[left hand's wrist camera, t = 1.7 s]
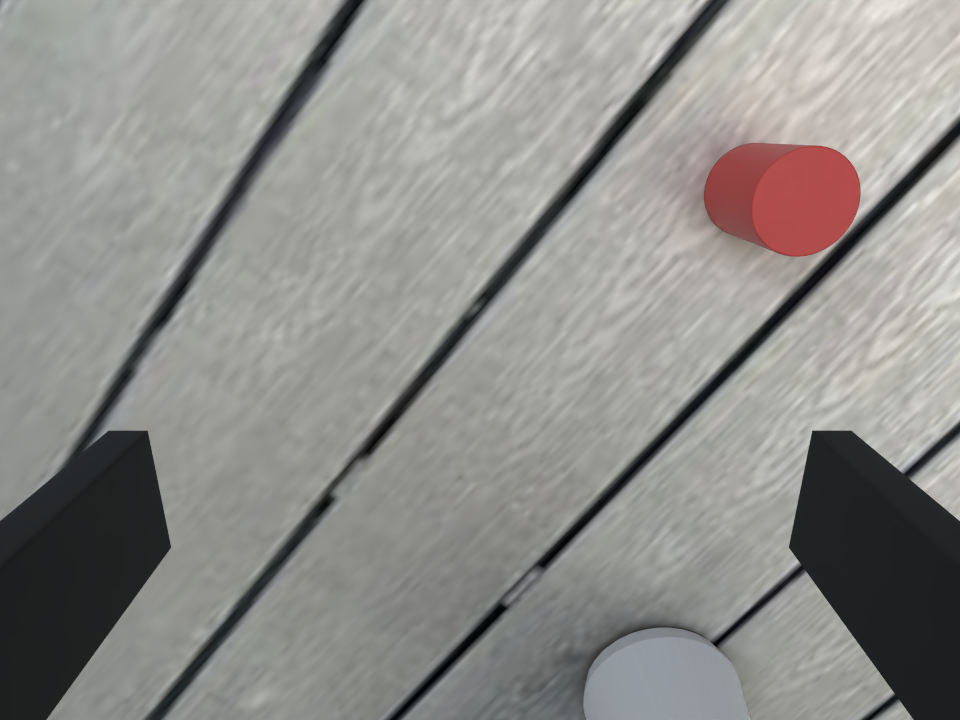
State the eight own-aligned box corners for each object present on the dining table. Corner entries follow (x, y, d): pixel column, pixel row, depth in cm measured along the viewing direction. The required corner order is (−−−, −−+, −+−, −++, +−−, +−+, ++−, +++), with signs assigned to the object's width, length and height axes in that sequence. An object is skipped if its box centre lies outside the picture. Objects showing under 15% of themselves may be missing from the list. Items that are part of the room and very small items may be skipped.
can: (755, 122, 25) (817, 120, 21) (812, 188, 26) (883, 200, 21) (685, 192, 26) (729, 205, 21) (742, 253, 27) (796, 278, 22)
